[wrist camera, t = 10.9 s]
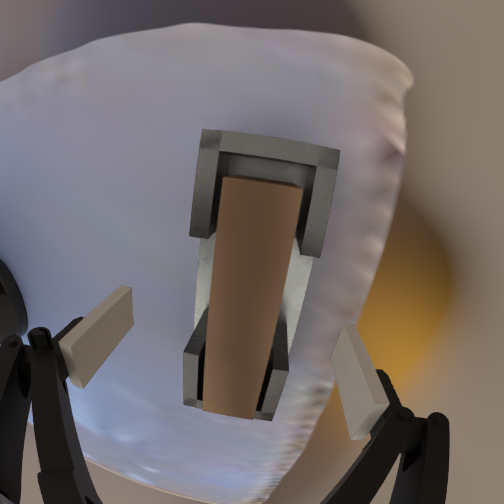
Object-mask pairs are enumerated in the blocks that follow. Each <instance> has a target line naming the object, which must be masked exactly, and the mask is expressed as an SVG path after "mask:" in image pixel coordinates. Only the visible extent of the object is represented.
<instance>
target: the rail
mask: <svg viewBox="0 0 504 504" xmlns="http://www.w3.org/2000/svg"><path fill="white" fill-rule="evenodd" d="M302 193H303V189H302V188H300V187H299V186H297V185H296V184H292V183H287V182H281V181H274V180H268V179H262V178H255V177H248V176H241V175H237V176H227V177H223V183H222V190H221V198H220V206H219V214H218V222H217V231H216V240H215V249H214V258H213V268H212V278H211V289H210V300H209V312H208V324H207V337H206V351H205V367H204V384H203V404H202V410H203V411H207V412H212V413H217V414H222V415H227V416H233V417H239V418H245V419H252V420H253V418H254V414H255V410H256V406H257V403H258V399H259V395H260V391H261V387H262V383H263V379H264V375H265V371H266V367H267V363H268V359H269V355H270V350H271V346H272V342H273V337H274V333H275V329H276V324H277V320H278V315H279V311H280V306H281V302H282V297H283V292H284V287H285V283H286V278H287V273H288V268H289V263H290V258H291V253H292V248H293V242H294V237H295V232H296V226H297V221H298V215H299V210H300V204H301V198H302Z"/></svg>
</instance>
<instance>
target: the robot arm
mask: <svg viewBox="0 0 504 504" xmlns="http://www.w3.org/2000/svg"><path fill="white" fill-rule="evenodd" d="M133 325H134V321H133V306H132V288H130V287H126V286H122V285H121V286H120V287H119V288H118V289H117V290H115V291H114V292H113V293H112V294H111V295H110V296H108V297H107V298H106V299H105V300H104V301H103V302H102V303H100V304H99V305H98V306H97V307H96V308H95V309H94V310H93V311H91V312H90V313H89V314H88V315H87V316H86V317H85V318H84V317H79V318H76V319H74V320H73V321H71V322H70V323H69V324H68V326H66V327H65V328H64V330H63V329H62V330H61V331H60V332H59V333H58V334H57V335H56V336H55V337H54V338H53V339H52V337H51V333H50V331H49V330H48V329H47V328H45V327H37V328H34V329H32V330H30V331H29V332H28V335H27V336H28V340H29V343H30V346H29V345H24V344H23V342H22V339H21V336H22V335H24V334H25V332H26V330H27V316H26V311H25V307H24V303H23V300H22V297H21V295H20V292H19V290H18V288H17V285H16V283H15V281H14V279H13V277H12V276H11V274H10V272H9V271H8V269H7V268H6V266H5V265H4V264H3V263H2V262H1V261H0V345H1V346H0V504H20V497H21V474H22V473H21V472H22V458H23V449H24V439H25V433H26V426H27V420H28V415H29V410H30V405H31V400H32V413H33V423H34V432H35V440H36V446H37V452H38V458H39V463H40V468H41V472H39V473H38V475H37V477H38V483H39V487H40V490H41V494H42V498H43V501H44V504H103V503H102V501H101V500H100V498H99V497H98V495H97V493H96V490H95V488H94V485H93V483H92V480H91V477H90V475H89V472H88V469H87V466H86V463H85V460H84V457H83V453H82V450H81V447H80V443H79V439H78V436H77V432H76V428H75V424H74V419H73V415H72V410H71V405H70V399H69V394H68V388H67V383H66V379H67V377H68V376H69V377H70V380H71V383H72V384H74V385H76V386H78V387H80V388H82V389H84V387H85V386H86V385H87V383H88V382H89V381H90V379H91V378H92V377H93V375H94V374H95V373H96V372H97V370H98V369H99V368H100V366H101V365H102V364H103V362H104V361H105V360H106V359H107V357H108V356H109V355H110V354H111V352H112V351H113V350H114V348H115V347H116V346H117V345H118V343H119V342H120V341H121V340H122V338H123V337H124V336H125V335H126V333H127V332H128V331H129V330H130V329H131V327H132V326H133ZM331 362H332V366H333V370H334V374H335V378H336V381H337V385H338V389H339V393H340V397H341V401H342V406H343V410H344V414H345V418H346V423H347V427H348V431H349V436H350V440H361V439H365V438H366V436H367V435H368V434H369V433H370V435H371V440H370V441H369V442H368V443H367V445H366V446H365V447H364V448H363V451H362V452H361V454H360V455H359V457H358V458H357V459H356V461H355V462H354V463H353V465H352V466H351V468H350V469H349V470H348V471H347V473H346V474H345V475H344V476H343V478H342V479H341V480H340V481H339V483H338V484H337V485H336V486H335V487H334V489H332V491H331V492H330V493H329V494H328V495H327V496H326V498H325V499H324V500H323V501H322V502H321V503H320V504H370V502H371V501H372V499H373V498H374V496H375V494H376V493H377V491H378V490H379V488H380V487H381V485H382V483H383V482H384V480H385V479H386V477H387V475H388V473H389V472H390V470H391V468H392V466H393V464H394V463H395V461H396V459H397V457H398V455H399V453H401V458H400V463H399V468H398V472H397V476H396V481H395V485H394V488H393V492H392V496H391V499H390V503H389V504H445V500H446V493H447V484H448V472H449V446H450V444H449V443H450V442H449V441H450V438H449V436H450V435H449V434H450V433H449V421H448V419H447V417H446V416H445V415H443V414H442V413H439V412H434V413H432V414H430V415H429V416H428V418H427V419H426V418H420V417H415V416H414V413H413V412H412V411H411V410H410V409H408V408H406V407H403V406H402V405H401V403H400V401H399V398H398V396H397V394H396V392H395V389H393V385H392V384H391V381H390V379H389V376H388V375H387V374H386V373H385V372H384V371H383V370H380V369H375V368H374V366H373V363H372V361H371V359H370V357H369V355H368V352H367V350H366V348H365V346H364V344H363V342H362V339H361V337H360V335H359V333H358V331H357V329H356V327H355V325H346V324H343V327H342V330H341V333H340V336H339V338H338V341H337V344H336V347H335V349H334V352H333V354H332V357H331Z"/></svg>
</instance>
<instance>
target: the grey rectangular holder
mask: <svg viewBox="0 0 504 504" xmlns="http://www.w3.org/2000/svg"><path fill="white" fill-rule="evenodd" d="M339 156H340V150H337V149H333V148H328V147H324V146H319V145H314V144H309V143H304V142H299V141H293V140H287V139H281V138H275V137H269V136H262V135H255V134H247V133H238V132H229V131H219V130H207V129H202V135H201V141H200V148H199V155H198V162H197V169H196V177H195V185H194V194H193V202H192V212H191V222H190V232H189V236H192V237H198V238H201V239H200V250H199V261H198V273H197V285H196V300H195V315H194V332H193V334H192V336H191V338H190V340H189V342H188V344H187V346H186V348H185V350H184V352H183V400H184V405H187V406H191V407H195V408H200V409H202V404H203V384H204V367H205V351H206V337H207V324H208V312H209V300H210V289H211V278H212V268H213V258H214V249H215V240H216V231H217V222H218V214H219V206H220V198H221V190H222V183H223V177H227V176H237V175H241V176H248V177H255V178H262V179H268V180H274V181H281V182H287V183H292V184H296V185H297V186H299V187H300V188H302V189H303V193H302V198H301V204H300V210H299V215H298V221H297V226H296V232H295V237H294V242H293V248H292V253H291V258H290V263H289V268H288V273H287V278H286V283H285V287H284V292H283V297H282V302H281V306H280V311H279V315H278V320H277V324H276V329H275V333H274V337H273V342H272V346H271V350H270V355H269V359H268V363H267V367H266V371H265V375H264V379H263V383H262V387H261V391H260V395H259V399H258V403H257V406H256V410H255V414H254V418H253V419H259V420H267V421H272V419H273V417H274V414H275V411H276V408H277V405H278V402H279V399H280V397H281V394H282V391H283V388H284V385H285V381H286V378H287V375H288V372H289V364H288V356H289V352H290V349H291V345H292V342H293V338H294V334H295V331H296V327H297V323H298V320H299V316H300V312H301V308H302V304H303V300H304V296H305V292H306V288H307V284H308V280H309V276H310V272H311V267H312V263H313V259H314V257H316V258H320V255H321V250H322V246H323V241H324V237H325V232H326V227H327V222H328V217H329V212H330V207H331V202H332V197H333V191H334V186H335V180H336V175H337V169H338V163H339Z"/></svg>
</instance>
